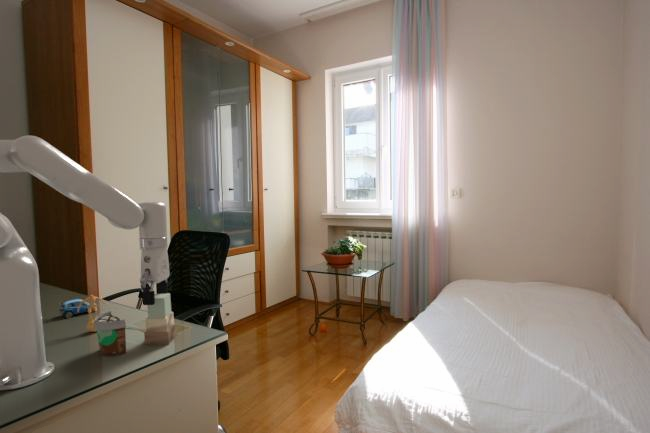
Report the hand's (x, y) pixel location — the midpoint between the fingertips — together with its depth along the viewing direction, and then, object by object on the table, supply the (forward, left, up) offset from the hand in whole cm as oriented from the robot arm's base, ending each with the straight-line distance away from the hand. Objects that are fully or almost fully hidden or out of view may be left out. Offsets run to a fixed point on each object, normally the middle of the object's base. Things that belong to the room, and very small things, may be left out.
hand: (155, 299), depth 113 cm
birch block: (0, -1, -9) cm, 9 cm away
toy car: (+30, +42, -13) cm, 53 cm away
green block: (0, -1, -5) cm, 5 cm away
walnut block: (+1, -1, -13) cm, 13 cm away
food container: (-7, +11, -13) cm, 19 cm away
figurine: (+11, +25, -13) cm, 31 cm away
